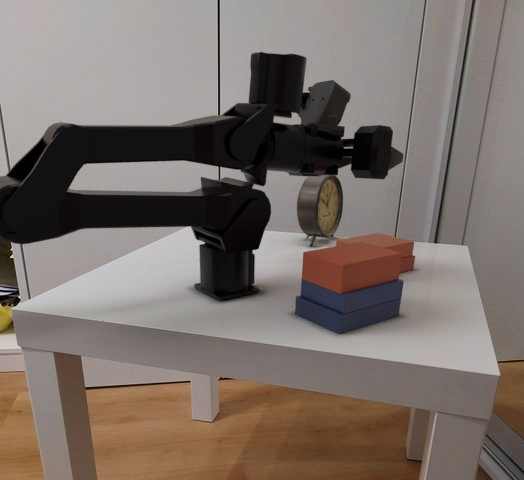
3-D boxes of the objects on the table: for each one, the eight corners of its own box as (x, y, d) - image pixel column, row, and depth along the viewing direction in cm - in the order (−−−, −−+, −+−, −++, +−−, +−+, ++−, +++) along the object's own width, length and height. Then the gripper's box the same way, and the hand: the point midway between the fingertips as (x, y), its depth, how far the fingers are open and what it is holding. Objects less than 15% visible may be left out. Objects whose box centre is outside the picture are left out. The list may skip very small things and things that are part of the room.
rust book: (340, 294, 56) (343, 264, 55) (301, 279, 61) (302, 251, 60) (398, 279, 62) (402, 252, 60) (358, 267, 66) (361, 241, 65)
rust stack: (369, 280, 76) (372, 250, 74) (333, 268, 82) (335, 239, 80) (413, 269, 82) (417, 241, 80) (376, 259, 87) (380, 232, 85)
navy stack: (339, 334, 58) (342, 295, 56) (294, 313, 63) (296, 278, 61) (399, 315, 63) (404, 280, 61) (354, 298, 69) (357, 265, 67)
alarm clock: (316, 249, 92) (322, 150, 86) (289, 244, 95) (293, 148, 88) (342, 238, 101) (349, 147, 94) (316, 234, 103) (322, 145, 97)
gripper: (347, 69, 58) (439, 90, 67) (256, 87, 73) (340, 102, 81) (337, 175, 62) (426, 182, 70) (251, 172, 76) (333, 178, 85)
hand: (378, 158), depth 76 cm, fingers open, 9 cm apart
